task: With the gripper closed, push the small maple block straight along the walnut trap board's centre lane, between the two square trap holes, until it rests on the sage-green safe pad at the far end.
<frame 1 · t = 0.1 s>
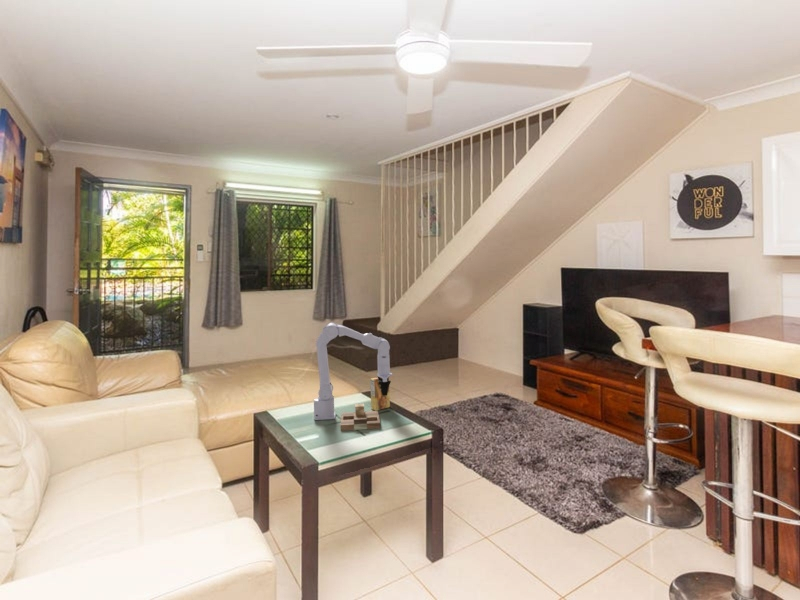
hand: (384, 392, 202), 10 cm above the table, fingers open, 7 cm apart
trap board: (360, 422, 191), on the table
candy box: (380, 408, 211), on the table
block: (359, 413, 197), point 2 cm above the table, touching trap board
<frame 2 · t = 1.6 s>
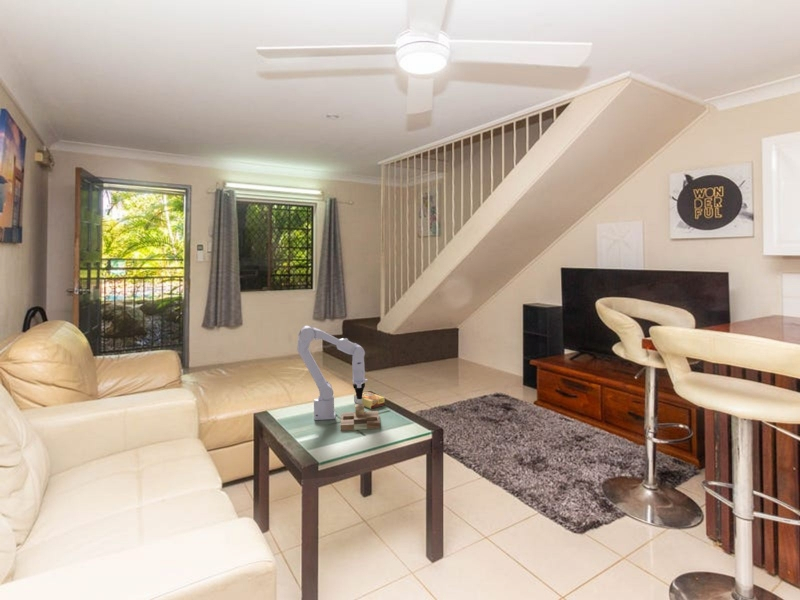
hand: (359, 398, 203), 7 cm above the table, fingers closed
candy box: (378, 403, 212), point 2 cm above the table
everything else where it was.
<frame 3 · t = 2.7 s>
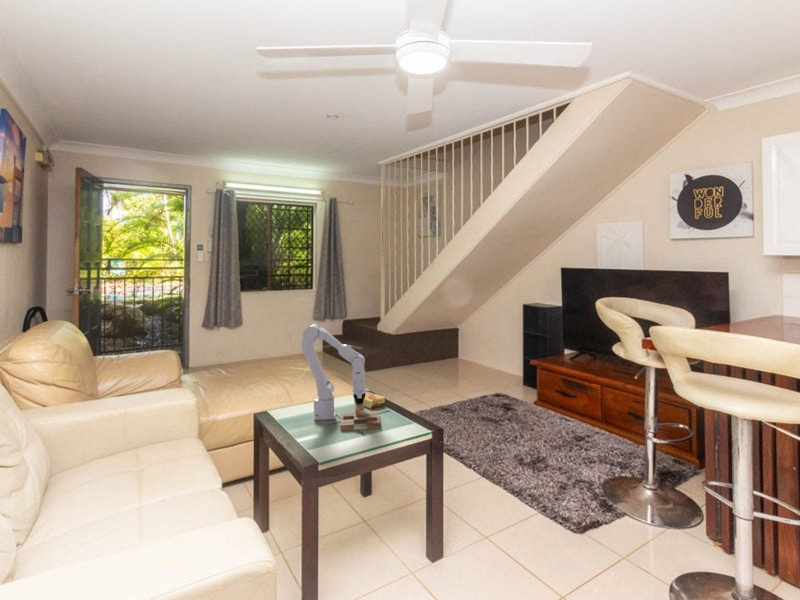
hand: (359, 409, 200), 3 cm above the table, fingers closed
block: (359, 413, 197), point 2 cm above the table, touching gripper, trap board
everything else where it was.
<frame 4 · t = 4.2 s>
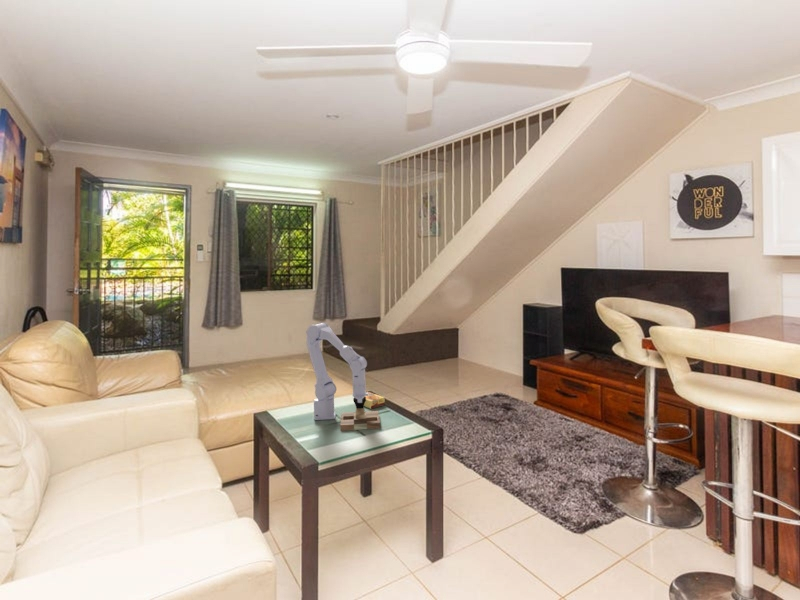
hand: (360, 413, 193), 3 cm above the table, fingers closed
block: (360, 418, 190), point 2 cm above the table, touching gripper
everything else where it was.
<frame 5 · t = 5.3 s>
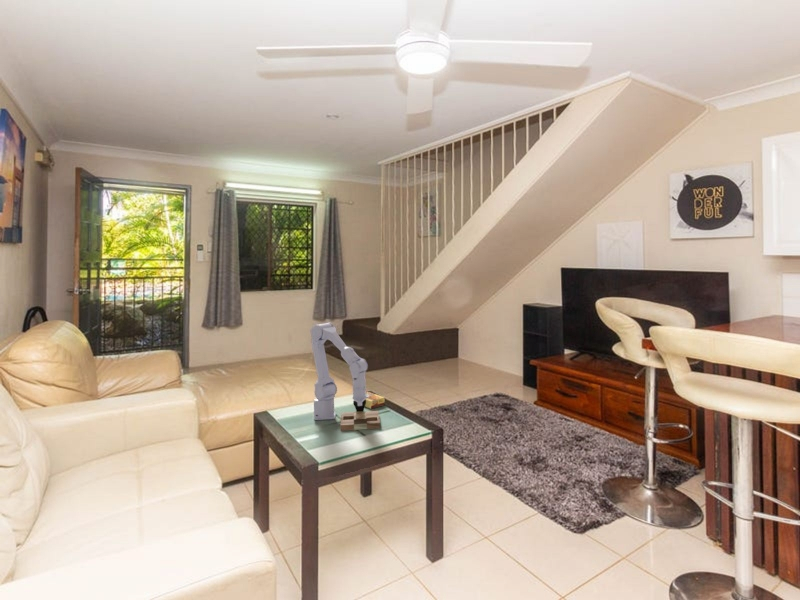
hand: (360, 416, 189), 3 cm above the table, fingers closed
block: (360, 421, 186), point 2 cm above the table, touching gripper, trap board
everything else where it was.
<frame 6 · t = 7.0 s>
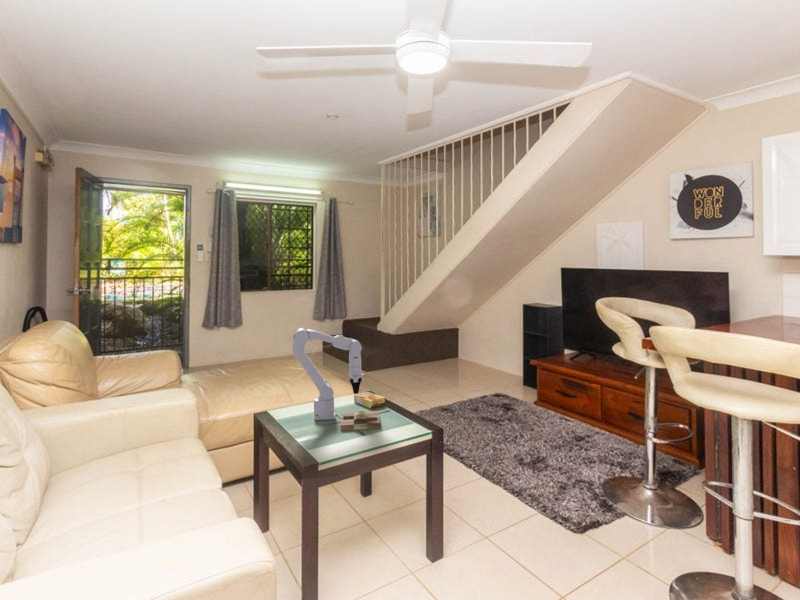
hand: (356, 393, 203), 10 cm above the table, fingers closed
block: (360, 421, 186), point 2 cm above the table, touching trap board
everything else where it was.
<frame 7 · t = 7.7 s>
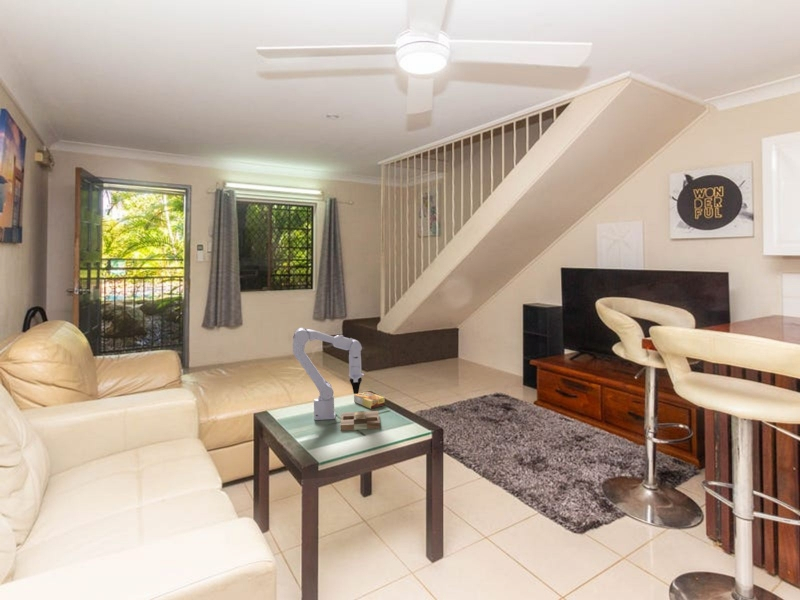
hand: (356, 393, 203), 10 cm above the table, fingers closed
nothing on the table moved.
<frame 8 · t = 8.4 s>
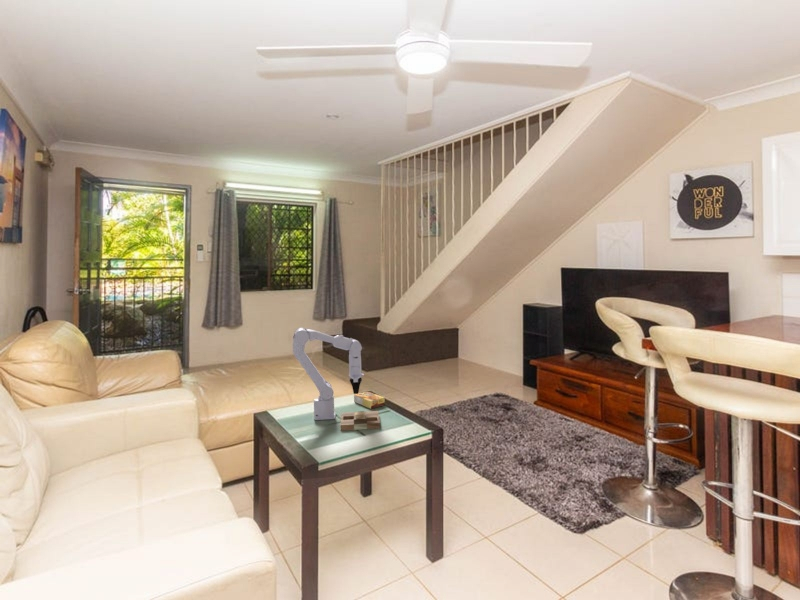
hand: (356, 393, 203), 10 cm above the table, fingers closed
nothing on the table moved.
at the end: block 0.3 cm from the target spot on the trap board, point 2.4 cm above the trap board's base; block point 2.4 cm above the table; block tilted 0° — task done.
